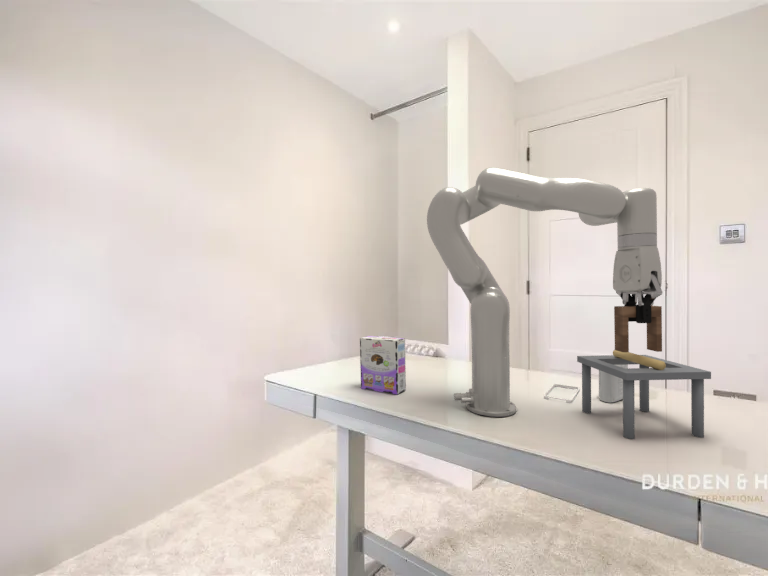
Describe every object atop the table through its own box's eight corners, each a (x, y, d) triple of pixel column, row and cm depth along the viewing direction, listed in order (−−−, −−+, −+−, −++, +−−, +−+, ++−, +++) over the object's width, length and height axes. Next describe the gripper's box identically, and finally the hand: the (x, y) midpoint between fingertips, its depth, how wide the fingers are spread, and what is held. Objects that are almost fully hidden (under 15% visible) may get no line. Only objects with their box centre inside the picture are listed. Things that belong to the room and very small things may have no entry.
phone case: (554, 387, 113) (542, 400, 101) (554, 383, 113) (542, 395, 101) (580, 391, 109) (571, 405, 97) (580, 387, 109) (571, 400, 97)
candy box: (406, 390, 110) (406, 337, 110) (397, 395, 105) (396, 340, 105) (370, 384, 118) (369, 334, 118) (359, 388, 113) (359, 337, 113)
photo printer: (613, 393, 105) (613, 352, 105) (630, 397, 101) (630, 354, 101) (596, 400, 99) (596, 356, 99) (613, 404, 95) (612, 358, 95)
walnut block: (662, 351, 81) (661, 306, 81) (623, 352, 81) (623, 307, 81) (651, 349, 84) (651, 305, 84) (614, 350, 84) (614, 306, 84)
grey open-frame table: (711, 438, 74) (711, 362, 74) (626, 440, 74) (626, 363, 74) (645, 408, 92) (645, 347, 92) (577, 409, 92) (577, 348, 92)
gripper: (598, 247, 91) (599, 319, 91) (648, 239, 74) (649, 326, 74) (627, 247, 91) (628, 318, 91) (683, 238, 74) (683, 325, 75)
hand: (637, 321), depth 83 cm, fingers closed on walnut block, 3 cm apart
